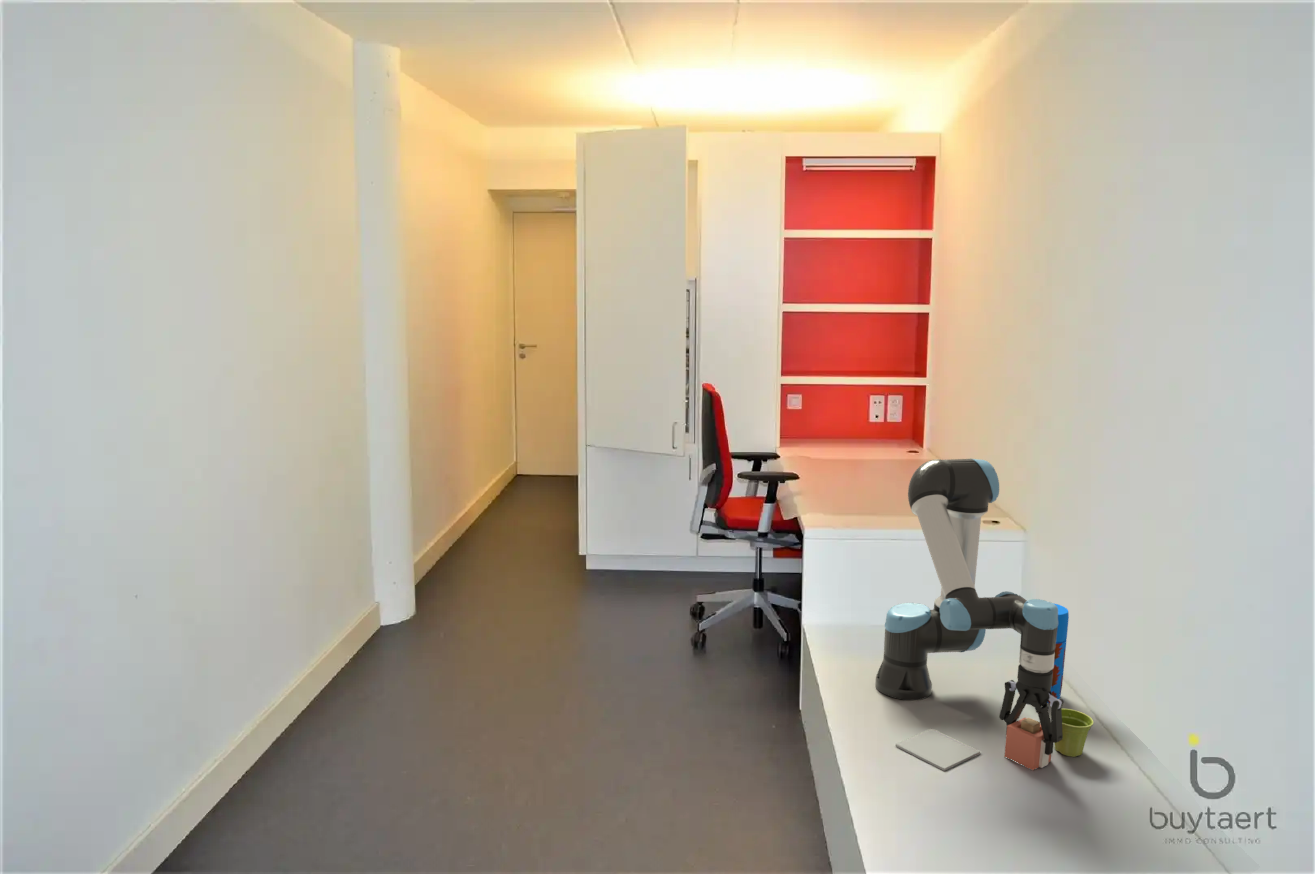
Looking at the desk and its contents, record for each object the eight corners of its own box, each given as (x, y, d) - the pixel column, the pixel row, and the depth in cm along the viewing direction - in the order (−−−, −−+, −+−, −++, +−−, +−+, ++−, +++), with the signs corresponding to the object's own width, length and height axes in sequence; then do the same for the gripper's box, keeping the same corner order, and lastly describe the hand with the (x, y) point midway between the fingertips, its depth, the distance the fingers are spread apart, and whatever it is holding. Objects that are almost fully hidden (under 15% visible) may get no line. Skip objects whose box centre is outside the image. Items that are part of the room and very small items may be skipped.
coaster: (895, 746, 223) (895, 743, 223) (931, 730, 232) (931, 728, 232) (944, 770, 212) (944, 768, 212) (980, 753, 221) (980, 751, 220)
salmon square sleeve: (1004, 757, 219) (1007, 725, 218) (1022, 748, 224) (1024, 717, 222) (1033, 770, 213) (1036, 738, 212) (1050, 761, 218) (1053, 729, 216)
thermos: (1011, 686, 258) (1018, 601, 254) (1048, 686, 259) (1056, 600, 255) (1030, 704, 248) (1038, 615, 243) (1068, 703, 248) (1076, 614, 244)
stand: (1015, 757, 219) (1018, 720, 217) (1024, 753, 221) (1027, 716, 220) (1030, 764, 216) (1033, 726, 214) (1039, 760, 218) (1042, 722, 217)
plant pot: (1087, 745, 226) (1091, 712, 224) (1091, 763, 217) (1095, 729, 215) (1046, 738, 229) (1049, 705, 227) (1048, 756, 220) (1052, 722, 218)
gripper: (987, 656, 220) (980, 745, 224) (1068, 686, 204) (1059, 781, 208) (1006, 649, 225) (998, 736, 229) (1086, 678, 209) (1076, 771, 213)
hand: (1027, 758), depth 218 cm, fingers closed on salmon square sleeve, 7 cm apart
